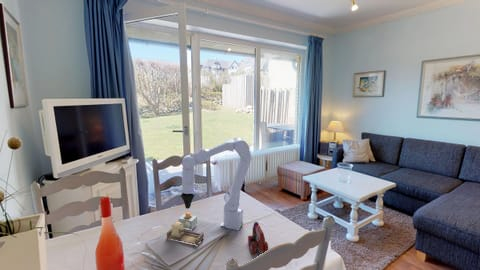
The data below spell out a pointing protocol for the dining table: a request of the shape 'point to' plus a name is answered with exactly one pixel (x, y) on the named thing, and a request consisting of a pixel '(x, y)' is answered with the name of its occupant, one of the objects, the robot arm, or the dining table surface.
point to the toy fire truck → (257, 239)
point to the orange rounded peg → (187, 215)
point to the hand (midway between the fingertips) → (188, 207)
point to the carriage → (177, 229)
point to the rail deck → (187, 237)
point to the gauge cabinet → (188, 221)
